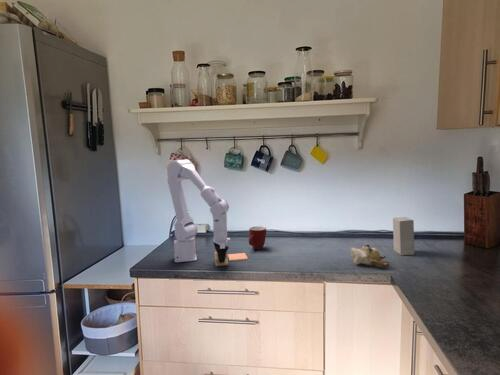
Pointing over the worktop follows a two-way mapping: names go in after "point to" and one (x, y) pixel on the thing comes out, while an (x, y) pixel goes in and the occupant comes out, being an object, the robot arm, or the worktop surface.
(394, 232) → the skincare box
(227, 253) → the block
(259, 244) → the mug
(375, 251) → the ceramic sculpture
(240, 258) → the coaster
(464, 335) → the worktop surface
